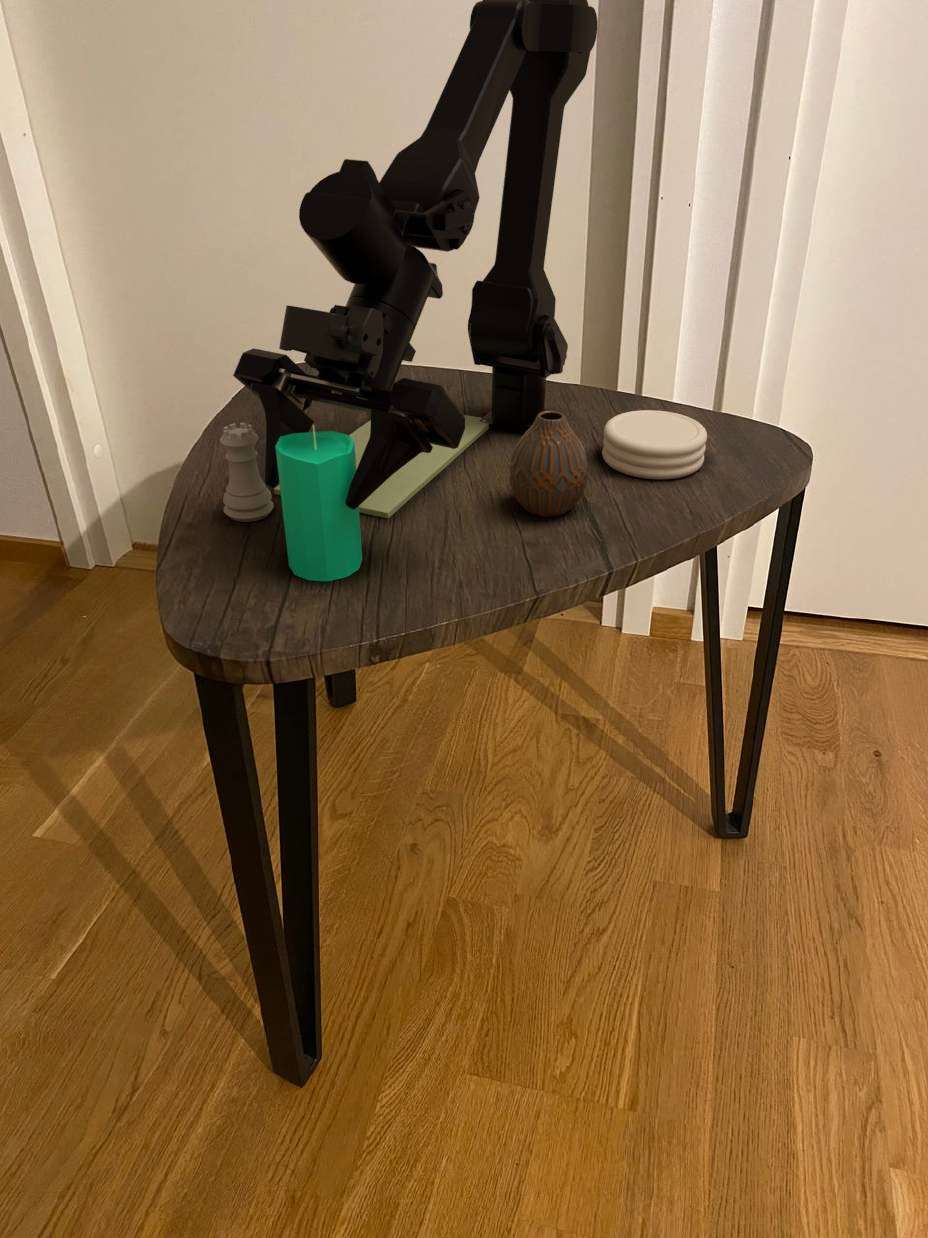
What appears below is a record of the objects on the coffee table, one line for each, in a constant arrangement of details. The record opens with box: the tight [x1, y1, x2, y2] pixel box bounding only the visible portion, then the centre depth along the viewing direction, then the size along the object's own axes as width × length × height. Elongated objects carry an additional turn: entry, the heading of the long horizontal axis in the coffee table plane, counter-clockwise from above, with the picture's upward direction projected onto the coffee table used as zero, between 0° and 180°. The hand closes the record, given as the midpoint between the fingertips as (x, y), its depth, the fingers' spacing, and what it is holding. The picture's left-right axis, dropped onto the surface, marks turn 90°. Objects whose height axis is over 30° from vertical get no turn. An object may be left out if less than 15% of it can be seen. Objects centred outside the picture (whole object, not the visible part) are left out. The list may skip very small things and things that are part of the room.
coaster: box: [601, 409, 708, 480], centre depth 97 cm, size 10×10×4 cm
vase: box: [509, 410, 589, 518], centre depth 87 cm, size 7×7×9 cm
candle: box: [275, 423, 363, 582], centre depth 77 cm, size 6×6×12 cm
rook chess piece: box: [219, 422, 275, 523], centre depth 86 cm, size 4×4×8 cm
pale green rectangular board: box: [273, 414, 492, 519], centre depth 98 cm, size 24×12×1 cm, turn 156°
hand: (308, 496), depth 76 cm, fingers open, 7 cm apart
